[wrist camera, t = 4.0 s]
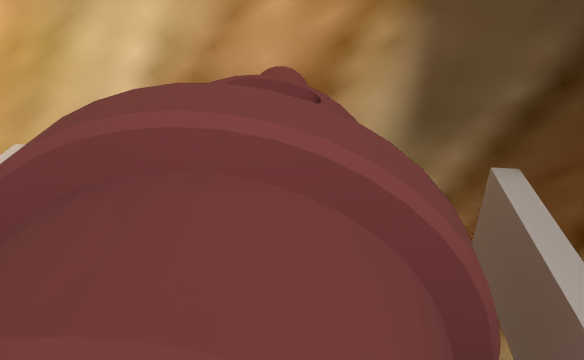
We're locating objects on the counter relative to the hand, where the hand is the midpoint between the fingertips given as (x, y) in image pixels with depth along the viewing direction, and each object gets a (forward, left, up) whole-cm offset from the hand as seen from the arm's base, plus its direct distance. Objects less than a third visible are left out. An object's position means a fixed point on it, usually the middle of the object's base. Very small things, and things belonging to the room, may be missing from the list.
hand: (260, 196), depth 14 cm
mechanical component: (0, 0, -2) cm, 2 cm away
